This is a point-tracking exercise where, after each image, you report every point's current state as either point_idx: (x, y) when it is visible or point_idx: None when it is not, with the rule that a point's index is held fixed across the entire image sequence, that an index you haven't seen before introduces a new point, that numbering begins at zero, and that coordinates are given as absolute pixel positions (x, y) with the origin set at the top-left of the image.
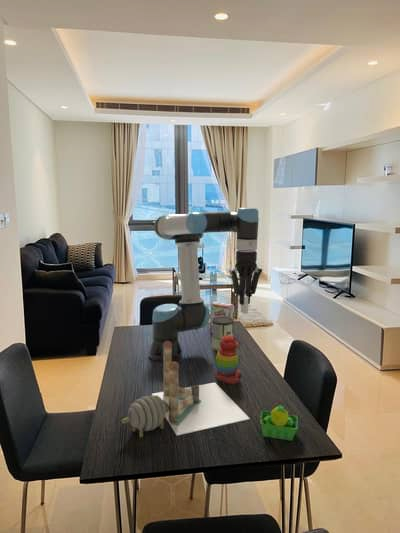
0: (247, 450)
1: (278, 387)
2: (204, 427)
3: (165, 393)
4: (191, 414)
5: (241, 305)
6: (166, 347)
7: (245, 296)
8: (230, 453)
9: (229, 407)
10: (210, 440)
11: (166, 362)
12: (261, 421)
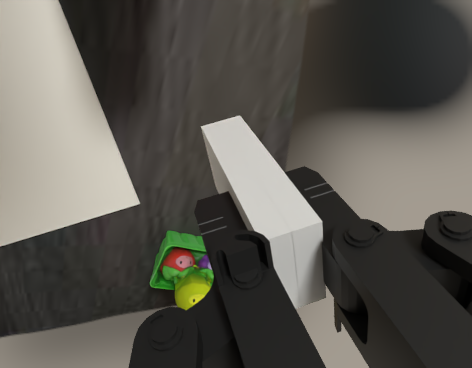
0: (111, 293)
1: (280, 39)
2: (10, 238)
3: None
4: None
5: (220, 170)
6: None
7: (291, 298)
8: (74, 303)
9: (89, 153)
10: (29, 274)
11: None
12: (153, 281)
